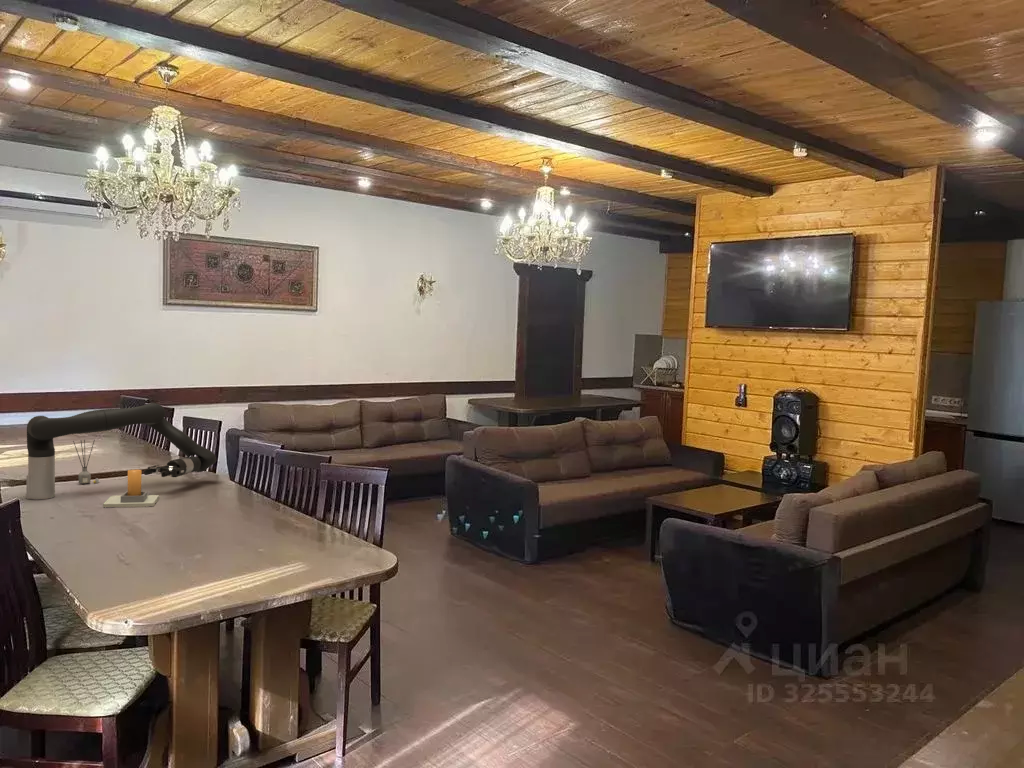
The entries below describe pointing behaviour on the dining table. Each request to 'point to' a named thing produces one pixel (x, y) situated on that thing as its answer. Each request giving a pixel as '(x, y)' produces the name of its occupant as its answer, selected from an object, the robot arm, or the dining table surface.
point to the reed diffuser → (85, 469)
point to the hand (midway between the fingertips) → (153, 473)
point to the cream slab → (132, 500)
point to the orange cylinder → (134, 482)
